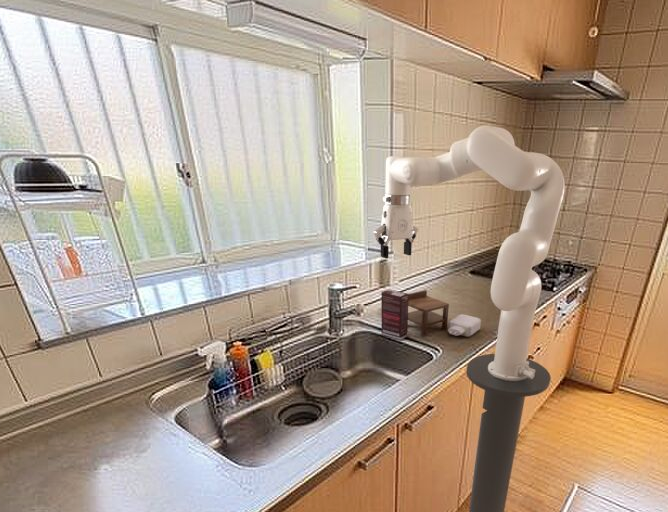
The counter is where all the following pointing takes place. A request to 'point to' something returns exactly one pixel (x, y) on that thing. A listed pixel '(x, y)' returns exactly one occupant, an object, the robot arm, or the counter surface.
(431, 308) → the shelf rack
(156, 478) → the counter surface
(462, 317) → the charger
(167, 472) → the counter surface
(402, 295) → the supplement box
